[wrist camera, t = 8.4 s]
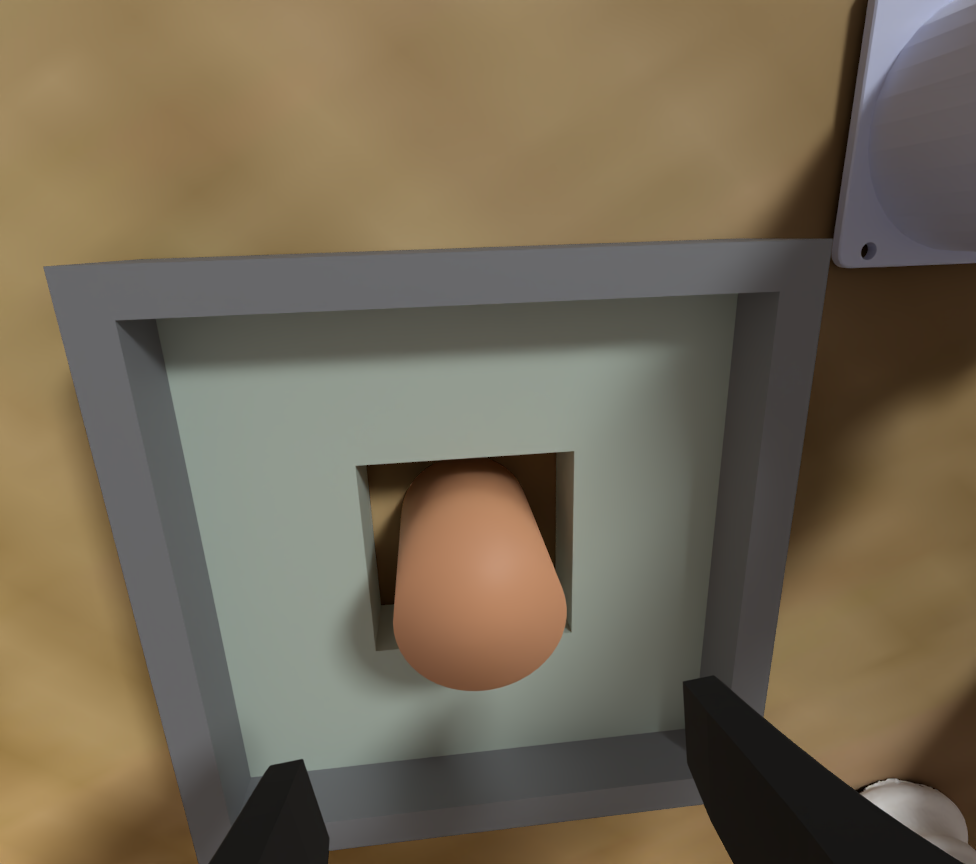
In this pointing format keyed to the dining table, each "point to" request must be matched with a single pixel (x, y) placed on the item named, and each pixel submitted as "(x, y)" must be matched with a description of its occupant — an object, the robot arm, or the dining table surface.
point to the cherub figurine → (924, 815)
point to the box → (442, 436)
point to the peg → (474, 579)
